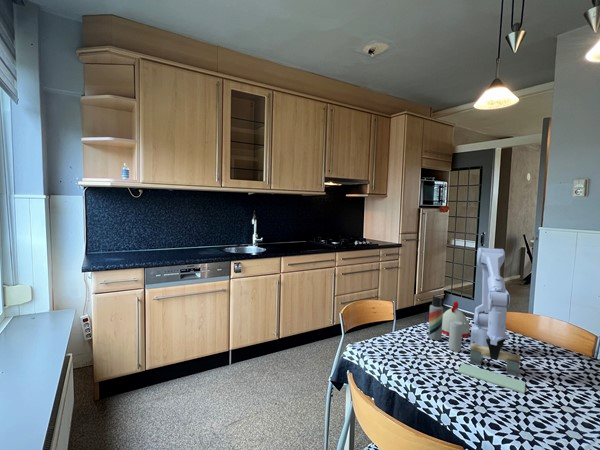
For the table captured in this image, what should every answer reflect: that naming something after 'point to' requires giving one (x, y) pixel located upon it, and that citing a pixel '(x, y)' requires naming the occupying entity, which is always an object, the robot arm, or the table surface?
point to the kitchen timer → (455, 315)
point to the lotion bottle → (435, 319)
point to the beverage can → (455, 336)
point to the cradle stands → (511, 365)
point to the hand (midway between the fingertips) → (494, 357)
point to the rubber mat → (492, 377)
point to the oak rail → (502, 354)
